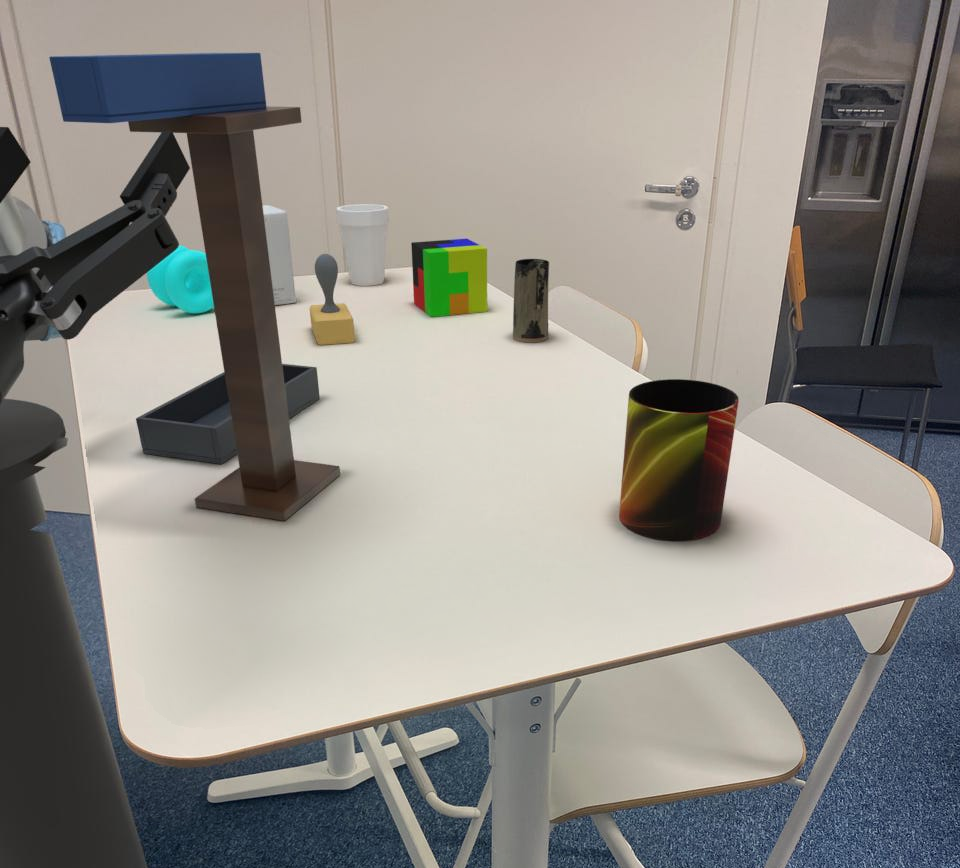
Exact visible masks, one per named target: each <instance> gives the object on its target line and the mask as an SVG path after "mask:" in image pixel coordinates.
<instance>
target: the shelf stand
mask: <svg viewBox="0 0 960 868" xmlns="http://www.w3.org/2000/svg"><path fill="white" fill-rule="evenodd" d="M302 122H303V121H302V111H301V107H300V106H267V108H264V109H254V110H244V111H233V112H223V113H212V114H202V115H192V116H181V117H171V118H160V119H150V120H140V121H129V122H127V124H128V129H129V132H130V133H159V134H161V133H162V131H172V132H173V134H186V138H187V145H188V150H189V157H190V163H191V170H192V176H193V182H194V189H195V196H196V201H197V207H198V213H199V214H198V215H199V220H200V221H199V222H200V227H201V232H202V233H201V234H202V240H203V246H204V253H205V254H206V259H207V265H208V272H209V278H210V284H211V291H212V297H213V303H214V307H213V308H214V315H215V321H216V329H217V335H218V341H219V347H220V354H221V360H222V367H223V372H224V373H225V379H226V386H227V392H228V398H229V404H230V411H231V417H232V423H233V430H234V436H235V442H236V449H237V454H236V455H237V461H238V468H236V469H234V471H232V472H230V473H229V474H227V475H226V476H224V477H223V478H221V480H218V481H217V482H216V483H214V484H213V485H211V486H210V487H208V489H206V490H204V491H203V492H201V493H200V494H198V495H197V496H196V497H195V498H194V503H195V507H196V508H197V509H205V510H212V511H218V512H225V513H230V514H238V515H244V516H250V517H257V518H263V519H270V520H276V521H284V522H286V521H287V520H288V519H289V518H290V517H292V516H293V515H295V513H296V512H298V511H299V510H300V509H301V508H302V507H303V506H305V504H307V503H308V502H310V501H311V500H312V499H313V498H315V496H316V495H318V494H319V493H320V492H321V491H323V489H325V488H326V487H327V486H329V485H330V484H331V483H332V482H334V480H336V479H337V478H338V477H339V476H341V467H340V465H334V464H326V463H320V462H311V461H303V460H296V459H295V458H294V450H293V449H294V448H293V442H292V433H291V425H290V419H289V416H288V408H287V400H286V391H285V383H284V375H283V367H282V364H283V359H282V353H281V345H280V343H281V342H280V337H279V328H278V320H277V311H276V305H275V302H274V294H273V286H272V278H271V270H270V262H269V254H268V246H267V238H266V230H265V221H264V213H263V206H264V205H263V199H262V191H261V190H262V189H261V181H260V173H259V166H258V165H259V164H258V159H257V158H258V157H257V150H256V142H255V141H256V140H255V132H254V131H257V130H262V129H263V130H265V129H270V128H275V127H281V126H282V127H283V126H289V125H295V124H296V125H297V124H301V123H302Z"/></svg>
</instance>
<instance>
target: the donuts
mask: <svg viewBox="0 0 960 868" xmlns="http://www.w3.org/2000/svg"><path fill="white" fill-rule="evenodd" d="M146 278H147V282H148V286H149V288H150V290H151V292H152V293H153V295H154V296H155V297H156V298H157V299H158V300H159V301H161V302H162V303H164V304H166V305H168V306H171V307H177V308H178V309H180V310H181V311H183V312H186V313H188V314H192V315H193V314H194V315H197V314H204V313H206V312H209V311H210V310H211V309H213V308H214V303H213V297H212V291H211V284H210V278H209V272H208V265H207V259H206V253H205V252H202V251H200V250H195V249H189V248H187V247H186V246H183V245H180V244H179V246H178V248H177V249H176V250H175V251H174V252H172V253H171V254H170V255H169V256H167V257H166V258H165V259H163V260H162V261H161V262H160V263H158V264H157V265H156V266H155V267H153V268H152V269H151V270H150V271H148V272H147V273H146Z"/></svg>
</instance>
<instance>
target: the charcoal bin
mask: <svg viewBox="0 0 960 868" xmlns="http://www.w3.org/2000/svg"><path fill="white" fill-rule="evenodd" d="M282 367H283V375H284V383H285V391H286V400H287V408H288V416H289V420H290V419H292V418H293V417H294V416H296V415H298V414H299V413H301V412H302V411H305V409H307V408H308V407H309V406H311V405H312V404H314V403H316V402H317V401H319V400H320V399H321V396H320V387H319V376H318V370H317V369H318V368H317V366H308V365H300V364H299V365H298V364H288V363H282ZM135 422H136V427H137V431H138V435H139V440H140V444H141V450H142V453H143V454H145V455H152V456H160V457H167V458H173V459H182V460H187V461H188V460H189V461H194V462H202V463H210V464H216V465H217V464H218V465H223V464H224V463H226V462H227V461H229V460H231V459H232V458H233V457H235V456H236V455H237V449H236V442H235V436H234V430H233V423H232V417H231V411H230V404H229V398H228V392H227V386H226V379H225V373H224V371H223V372H221V373H220V374H217V375H215V376H214V377H212V378H210V379H208V380H205V381H204V382H201V384H198V385H196V386H194V387H193V388H191V389H189V390H187V391H185V392H183V393H182V394H180V395H179V394H178V395H177V396H175V397H173V398H171V399H170V400H168V401H166V402H164V403H162V404H160V405H159V406H156V407H155V408H153V409H150V410H149V411H147V412H145V413H143V414H141V415H139V416H138V417H136V418H135Z"/></svg>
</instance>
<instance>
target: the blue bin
mask: <svg viewBox="0 0 960 868" xmlns="http://www.w3.org/2000/svg"><path fill="white" fill-rule="evenodd" d="M48 58H49V63H50V68H51V73H52V77H53V81H54V85H55V86H54V87H55V90H56V95H57V98H58V99H57V100H58V103H59V107H60V108H59V109H60V112H61V117H62V121H63V123H64V122H65V123H89V124H90V123H93V124H118V123H128V122H129V121H140V120H150V119H160V118H171V117H181V116H192V115H202V114H212V113H223V112H233V111H244V110H254V109H264V108H267V107H268V106H267V97H266V90H265V81H264V74H263V65H262V64H263V63H262V56H261V53H260V52H198V53H197V52H194V53H191V52H190V53H189V52H188V53H152V54H151V53H148V54H146V53H145V54H144V53H143V54H105V55H104V54H103V55H102V54H101V55H99V54H98V55H97V54H96V55H59V56H54V55H53V56H49V57H48Z"/></svg>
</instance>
